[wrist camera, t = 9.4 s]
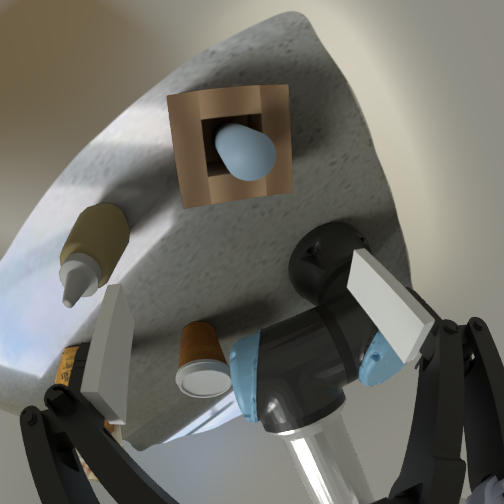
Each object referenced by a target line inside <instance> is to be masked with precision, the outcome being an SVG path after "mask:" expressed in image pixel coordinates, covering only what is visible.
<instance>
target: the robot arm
mask: <svg viewBox="0 0 504 504" xmlns="http://www.w3.org/2000/svg"><path fill="white" fill-rule="evenodd" d="M288 271H289V277H290V280H291V282H292V284H293V286H294V288H295V289H296V291H297V292H298V293H299V294H300V295H301V296H302V297H303V298H305V299H307V300H308V301H309V302H311V303H312V304H313V305H315V306H316V307H314V308H312V309H310V310H307V311H305V312H303V313H301V314H298V315H296V316H294V317H291V318H289V319H287V320H284V321H282V322H279V323H277V324H275V325H272V326H270V327H267V328H265V329H259V330H258V331H257V332H255V333H253V334H251V335H249V336H247V337H244V338H242V339H240V340H238V341H237V342H236V343H235V344H234V345H233V347H232V349H231V352H230V373H231V379H232V384H233V389H234V393H235V396H236V399H237V402H238V405H239V408H240V410H241V412H242V413H243V414H244V417H245V419H246V420H247V421H249V422H258V421H259V420H260V421H261V422H262V424H263V426H264V429H265V431H266V432H267V433H268V434H271V435H274V436H277V437H280V438H282V441H283V443H284V445H285V447H286V449H287V451H288V453H289V455H290V457H291V460H292V462H293V464H294V466H295V468H296V470H297V472H298V474H299V476H300V478H301V480H302V482H303V484H304V486H305V488H306V490H307V492H308V494H309V496H310V498H311V500H312V502H313V504H504V366H503V364H502V361H501V358H500V356H499V353H498V350H497V348H496V346H495V343H494V341H493V338H492V336H491V334H490V331H489V329H488V327H487V325H486V323H485V322H484V321H483V320H482V319H480V318H478V317H472V318H470V320H469V322H468V323H467V325H457V324H456V323H455V322H453V321H451V320H447V319H445V320H442V319H441V318H440V317H439V316H438V315H437V314H436V312H435V311H434V310H433V309H432V308H431V307H430V306H429V305H428V304H426V302H425V301H424V300H423V299H421V297H420V296H419V295H418V294H417V293H416V292H415V291H414V290H412V289H410V288H409V287H406V288H405V287H404V286H403V285H402V284H401V283H400V282H399V281H398V280H397V279H396V278H395V277H394V276H393V275H392V274H391V273H390V272H389V271H388V270H387V269H386V268H385V267H384V266H383V265H382V264H381V263H379V262H378V261H377V260H376V259H375V258H374V257H373V255H372V252H371V250H370V248H369V245H368V243H367V241H366V239H365V238H364V237H363V235H362V234H361V233H360V232H358V231H357V230H356V229H355V228H354V227H352V226H350V225H348V224H345V223H329V224H325V225H322V226H320V227H318V228H316V229H314V230H312V231H311V232H310V233H308V234H307V235H306V236H305V237H304V238H303V239H302V240H301V241H300V242H299V243H298V245H297V246H296V248H295V249H294V251H293V253H292V255H291V258H290V261H289V268H288ZM134 324H135V321H134V318H133V316H132V313H131V311H130V308H129V305H128V303H127V300H126V297H125V295H124V292H123V289H122V286H121V284H114V285H108V286H107V289H106V292H105V295H104V299H103V302H102V305H101V308H100V312H99V315H98V318H97V322H96V326H95V329H94V333H93V337H92V341H91V343H82V344H81V345H80V346H79V348H78V349H77V351H76V354H75V358H74V362H73V365H72V369H71V373H70V378H69V382H68V387H67V386H66V385H64V384H55V385H53V386H51V387H50V388H49V389H48V390H47V391H46V393H45V396H44V402H45V406H46V407H47V408H48V410H44V411H40V410H39V409H38V408H37V407H35V406H28V407H26V408H24V410H23V411H22V412H21V415H20V426H21V431H22V436H23V442H24V446H25V451H26V455H27V458H28V462H29V466H30V470H31V473H32V476H33V480H34V483H35V486H36V488H37V491H38V494H39V497H40V500H41V502H42V504H100V503H99V501H98V499H97V497H96V495H95V493H94V491H93V489H92V487H91V485H90V483H89V480H88V478H87V476H86V474H85V471H84V469H83V467H82V464H81V462H80V459H79V457H78V454H77V452H76V450H77V451H78V453H79V454H80V456H81V457H82V459H83V460H84V461H85V463H86V464H87V466H88V467H89V468H90V470H91V471H92V472H93V474H94V475H95V476H96V478H97V479H98V480H99V482H100V483H101V484H102V485H103V486H104V488H105V489H106V490H107V491H108V493H109V494H110V495H111V496H112V497H113V498H114V499H115V501H116V502H117V503H118V504H179V503H178V502H177V501H176V500H175V499H174V498H172V497H171V496H170V495H169V494H168V493H167V492H165V491H164V490H163V489H162V488H161V487H160V486H159V485H158V484H157V483H156V482H155V481H154V480H153V479H152V478H151V477H149V475H148V474H147V473H145V471H143V469H142V468H141V467H140V466H139V465H138V464H137V463H136V462H135V461H134V460H133V459H132V458H131V457H130V456H129V454H128V453H127V452H126V451H125V450H124V449H123V448H122V446H121V445H120V444H119V443H118V442H117V441H116V439H115V438H114V437H113V436H112V435H111V433H110V432H109V431H108V429H107V428H106V427H105V426H104V424H105V419H106V420H107V421H108V422H109V423H110V424H126V407H127V390H128V377H129V366H130V356H131V347H132V339H133V331H134ZM419 351H420V353H421V354H422V356H421V358H420V359H419V361H418V363H417V364H416V366H415V369H417V367H418V366H419V365H420V367H419V378H418V387H417V395H416V402H415V409H414V415H413V421H412V426H411V432H410V436H409V441H408V445H407V450H406V454H405V458H404V462H403V465H402V469H401V472H400V475H399V477H398V479H397V480H396V482H395V483H394V485H393V486H392V488H391V491H390V494H389V497H388V499H387V497H385V498H383V499H380V500H378V501H375V500H374V498H373V495H372V493H371V490H370V487H369V485H368V482H367V480H366V477H365V474H364V472H363V469H362V467H361V464H360V462H359V459H358V457H357V454H356V452H355V449H354V447H353V444H352V442H351V439H350V437H349V434H348V432H347V429H346V427H345V425H344V422H343V419H342V417H341V414H340V413H341V411H342V409H343V407H344V405H345V403H346V397H345V394H344V392H343V389H342V387H343V386H345V385H347V384H349V383H351V382H353V381H354V380H356V379H359V380H360V382H362V383H363V384H365V385H366V386H374V385H375V384H380V383H382V382H384V381H386V380H388V379H389V378H391V377H392V376H393V375H395V374H396V373H397V372H398V371H399V370H401V369H402V368H403V367H404V366H405V365H406V364H407V363H408V362H409V361H411V360H413V359H415V357H416V356H417V354H418V352H419ZM472 354H474V356H475V358H474V359H472V357H471V356H472ZM463 426H464V433H465V442H466V450H467V465H468V476H469V483H470V488H471V492H472V494H471V495H470V496H469V497H468V498H467V499H463V498H460V497H461V493H462V488H463V483H464V478H465V472H466V463H465V461H464V460H462V459H461V458H460V452H461V443H462V434H463ZM75 448H76V449H75Z"/></svg>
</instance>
